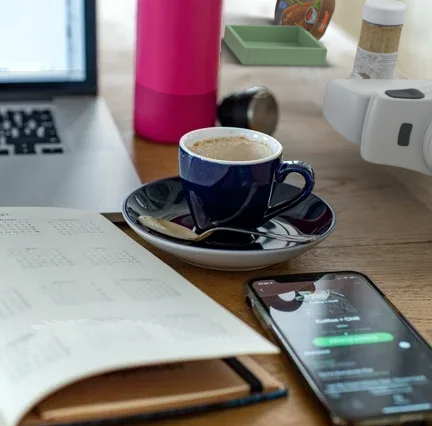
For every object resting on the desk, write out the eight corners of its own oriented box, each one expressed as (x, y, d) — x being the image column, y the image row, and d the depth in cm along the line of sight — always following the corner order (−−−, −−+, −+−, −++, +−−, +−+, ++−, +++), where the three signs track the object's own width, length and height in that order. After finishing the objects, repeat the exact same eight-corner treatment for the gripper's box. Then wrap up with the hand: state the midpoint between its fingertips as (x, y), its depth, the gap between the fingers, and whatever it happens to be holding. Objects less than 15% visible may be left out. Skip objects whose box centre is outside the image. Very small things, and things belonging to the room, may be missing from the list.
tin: (268, 19, 137) (286, -35, 134) (286, 23, 138) (304, -30, 135) (303, 48, 124) (324, -11, 121) (323, 52, 125) (344, -6, 122)
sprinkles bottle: (371, 111, 103) (394, -4, 97) (391, 125, 99) (416, 7, 93) (336, 113, 102) (356, -3, 96) (355, 127, 98) (378, 8, 92)
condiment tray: (298, 44, 127) (301, 25, 126) (324, 68, 117) (327, 49, 116) (223, 43, 126) (225, 24, 124) (242, 67, 116) (244, 47, 114)
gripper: (577, 97, 80) (500, 51, 92) (360, 96, 77) (310, 49, 89) (557, 161, 83) (485, 108, 95) (348, 162, 80) (301, 107, 92)
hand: (399, 79), depth 92 cm, fingers open, 8 cm apart
